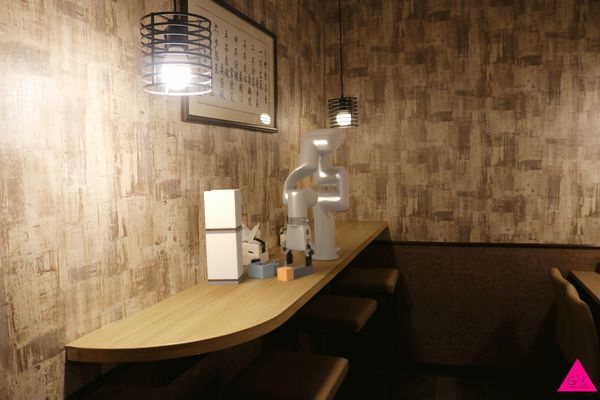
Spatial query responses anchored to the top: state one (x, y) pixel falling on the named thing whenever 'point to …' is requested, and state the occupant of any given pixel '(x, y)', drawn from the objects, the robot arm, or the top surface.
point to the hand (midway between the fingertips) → (299, 264)
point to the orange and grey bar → (294, 272)
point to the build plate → (255, 260)
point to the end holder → (260, 270)
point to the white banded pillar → (223, 236)
